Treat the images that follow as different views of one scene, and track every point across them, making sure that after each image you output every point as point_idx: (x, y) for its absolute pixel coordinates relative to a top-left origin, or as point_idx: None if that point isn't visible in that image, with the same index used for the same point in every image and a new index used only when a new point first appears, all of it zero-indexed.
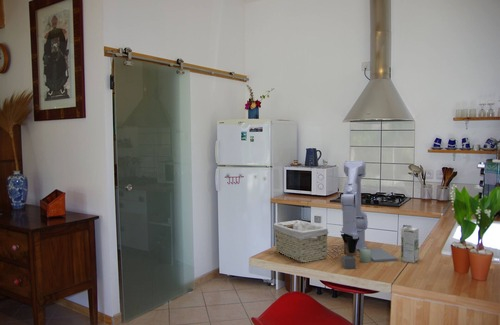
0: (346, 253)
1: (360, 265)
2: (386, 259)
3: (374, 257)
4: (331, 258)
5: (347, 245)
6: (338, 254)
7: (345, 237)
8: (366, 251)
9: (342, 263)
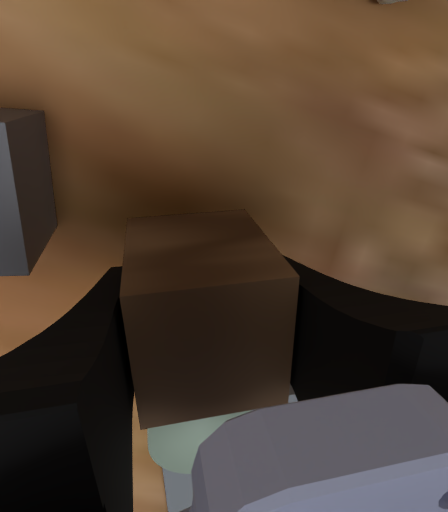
0: (159, 226)
1: (61, 295)
2: (165, 482)
3: None
4: (347, 73)
5: (123, 297)
6: (440, 189)
7: (57, 397)
8: (148, 440)
9: (25, 112)
